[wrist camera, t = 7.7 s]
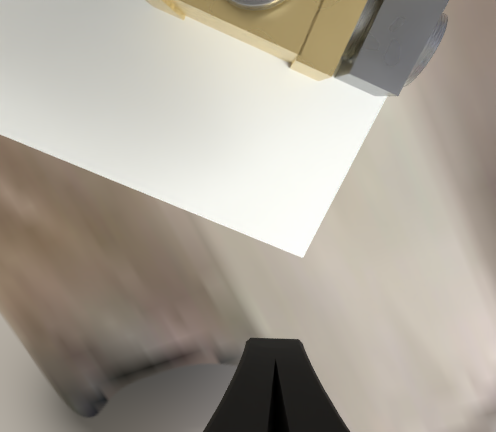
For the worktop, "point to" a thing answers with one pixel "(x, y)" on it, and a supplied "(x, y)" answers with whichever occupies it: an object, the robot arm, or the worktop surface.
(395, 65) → the valve
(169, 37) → the board
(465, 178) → the worktop surface
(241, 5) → the lever
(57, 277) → the worktop surface
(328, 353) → the worktop surface
